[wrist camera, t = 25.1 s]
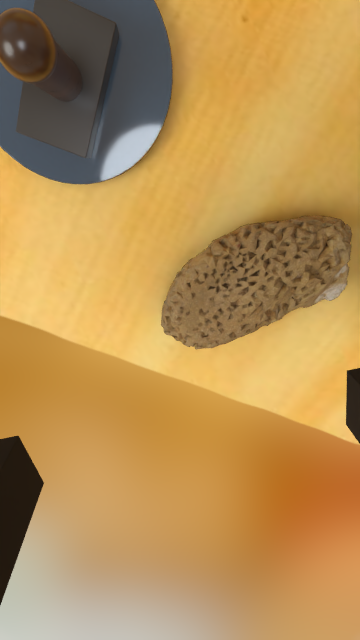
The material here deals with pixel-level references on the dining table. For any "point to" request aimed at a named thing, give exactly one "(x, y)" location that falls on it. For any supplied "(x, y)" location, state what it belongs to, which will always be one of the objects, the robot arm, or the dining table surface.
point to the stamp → (59, 70)
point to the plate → (119, 104)
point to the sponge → (256, 279)
